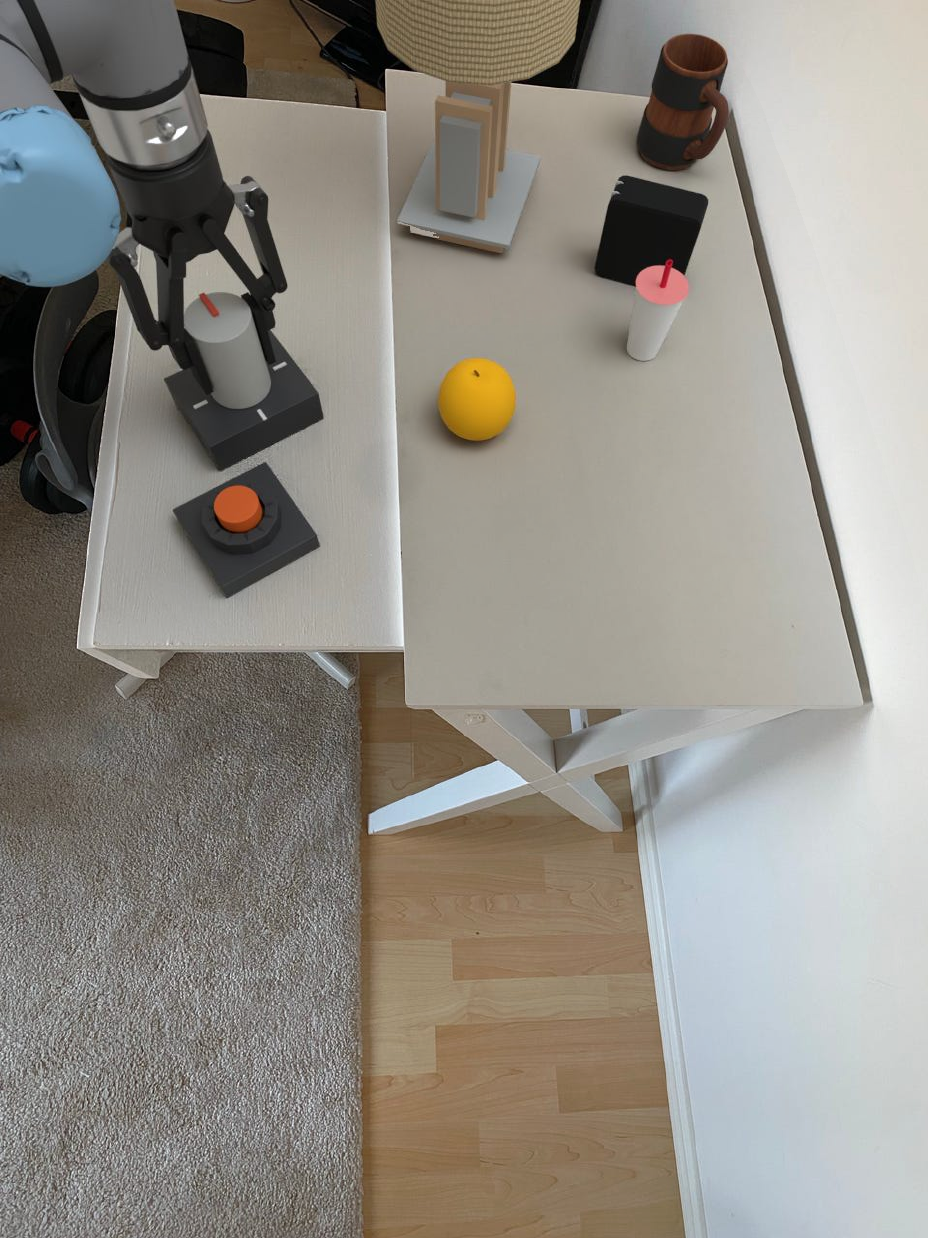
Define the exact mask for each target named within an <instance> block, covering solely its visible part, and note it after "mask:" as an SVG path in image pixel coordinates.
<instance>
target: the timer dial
mask: <svg viewBox="0 0 928 1238" xmlns="http://www.w3.org/2000/svg"><path fill="white" fill-rule="evenodd" d="M184 328H185V330H186V331H187V333H188V334H189V335H190V337H191V338H192V340H193V341H194V343H195V345H196V348H197V350H198V353H199V355H200V358H201V361H202V363H203V366H204V368H205V371H206V373H207V376H208V378H209V381H210V384H211V386H212V389H213V391H214V392H212V393H211V395H212V396H213V398H214V399H215V401H217V402H218V403H219V404H221V405H222V406H224V407H227V408H231V409H244V408H249V407H252V406H254V405H256V404H258V403H259V402H261V401H262V400H263V399H264V398H265V397H266V396H267V394H268V393H269V390H270V387H271V379H270V375H269V372H268V368H267V365H266V361H265V358H264V354H263V351H262V347H261V344H260V340H259V337H258V333H257V330H256V326H255V323H254V320H253V316H252V313H251V309H250V307H249V305H248V304H247V303H246V301H245V300H243V299H242V298H241V296H239V295H237V294H235V293H230V292H224V291H217V292H216V291H215V292H210V293H205V292H202V293H199V294H198V297H197V298H196V299H194V300H193V301H192V302H191V303H190V304H189V305H188V306H187V307H186V309H185V310H184Z"/></svg>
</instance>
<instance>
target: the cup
mask: <svg viewBox="0 0 928 1238" xmlns="http://www.w3.org/2000/svg"><path fill="white" fill-rule="evenodd" d="M672 263H673V261H672V260H671V259H669V260H668V261H667V262H666V265H665V266H651V267H648V268H646V269H644V270H642V271H641V272H640V273H639V274H638V276H637V278H636V286H635V292H634V298H633V302H632V303H633V304H632V309H631V317H630V323H629V328H628V336H627V342H626V343H627V344H626V351H627V353H628V355H629V356H630V357H631V358H633V360H634V359H635V360H637V361H640V362H646V361H647V362H648V361H651V360H653V359H654V358H655V357H656V356H657V354H658V352H659V350H660V349H661V347H662V345H663V343H664V341H665V339H666V337H667V335H668V333H669V331H670V329H671V327H672V325H673V323H674V321H675V318H676V316H677V314H678V313H679V311H680V309H681V306H682V304H683V302H684V300H685V299H686V297H687V296H688V295H689V293H690V284H689V283H690V282H689V280H688V278H687V277H686V276H685V275H683V274H682V273H680V272H679V271H678V270H676V269H674V268H671V267H672Z"/></svg>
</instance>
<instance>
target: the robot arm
mask: <svg viewBox="0 0 928 1238" xmlns="http://www.w3.org/2000/svg"><path fill="white" fill-rule="evenodd" d="M69 76H71V77H72V80H73V83H74V85H75V88H76V89H77V91H78V94H79V96H80V99H81V101H82V104H83V106H84V109H85V112H86V114H87V116H88V119H89V121H90V123H91V127H92V129H93V132H94V134H95V136H96V139H97V141H98V144H99V146H100V147H101V149H102V150H103V151H104V157H105V161H106V163H107V165H108V168H109V170H110V172H111V175H112V177H113V180H114V183H115V185H116V187H117V190H118V192H119V195H120V196H121V199H122V202H123V204H124V207H125V212H126V213H125V220H124V222H125V228H124V229H122V230H121V231H120V224H121V221H122V216H121V206H120V201H119V197H118V194H117V190H116V188H115V186H114V184H113V182H112V180H111V178H110V176H109V173H108V172H107V169H106V168H105V167H104V164H103V162H102V160H101V159H100V157H99V154H98V153H97V150H96V148H95V146H94V145H93V143H92V139H91V136H89V134H88V133H87V132H86V131H85V130H84V129H83V128H82V126H81V125H80V124H79V123H78V121H76V120H75V119H74V118H73V116H72V115H71V114H70V112H69V111H68V109H67V108H66V106H65V105H64V104H63V102H62V101H61V100H60V98H59V97H58V95H57V94H56V93H55V91H54V90H53V89H52V87H51V86H50V85H51V84H53V83H56V82H60V81H62V80H63V79H64V78H65V77H69ZM198 87H199V86H198V83H197V79H196V77H195V72H194V69H193V66H192V63H191V59H190V55H189V53H188V50H187V46H186V42H185V38H184V35H183V31H182V25H181V23H180V18H179V15H178V11H177V7H176V3H175V0H0V275H1V276H4V277H6V278H8V279H10V280H12V281H16V282H19V283H22V284H25V286H31V287H38V288H39V287H41V288H54V287H61V286H66V285H69V284H72V283H75V282H77V281H79V280H82V279H83V278H85V277H87V276H89V275H91V274H92V273H94V271H96V270H97V269H98V268H100V267H101V266H102V264H103V263H105V261H107V262H108V264H109V265H110V267H111V268H112V269H113V270H114V272H115V274H116V276H117V280H118V282H119V284H120V287H121V290H122V293H123V295H124V298H125V301H126V303H127V306H128V308H129V309H128V310H129V312H130V314H131V316H132V319H133V322H134V324H135V327H136V330H137V331H138V333H139V334H140V336H141V337H142V339H143V340H144V342H145V343H146V345H147V346H148V347H149V349H150V350H151V351H153V352H155V351H156V352H157V351H159V350H161V349H162V347H163V346H167V347H168V349H169V351H170V353H171V355H172V358H173V359H174V361H175V363H176V364H177V366H178V367H179V368H180V369H181V370H186V369H188V368H190V369H191V371H192V374H193V376H194V378H195V379H196V381H197V382H198V383H199V385H200V386H201V388H202V389H203V391H204V392H205V394H206V395H208V394H210V393H212V392H214V391H213V389H212V386H211V384H210V381H209V378H208V376H207V373H206V371H205V368H204V366H203V363H202V361H201V358H200V355H199V353H198V350H197V348H196V345H195V343H194V341H193V340H192V338H191V337H190V335H189V334H188V333H187V331H186V329H185V327H184V314H185V292H184V291H185V289H184V287H185V284H184V279H186V278H187V263H189V262H192V260H194V259H196V258H197V257H198V256H200V255H205V254H210V253H212V252H214V251H218V253H219V254H220V256H222V258H223V259H224V260H225V261H226V263H227V265H229V267H230V268H231V270H232V271H233V272H234V274H235V275H236V276H237V277H238V279H239V281H241V282H242V284H243V285H244V287H245V288H246V289H247V290H248V291H247V292H245V293H243V294H240V297H241V298H242V299H243V300H245V301H246V303H247V304H248V305H249V307H250V309H251V313H252V316H253V320H254V323H255V326H256V330H257V333H258V337H259V340H260V344H261V347H262V351H263V354H264V358H265V360H266V361H267V363H268V364H269V365H271V364H273V363H275V362H276V359H275V356H274V352H273V348H272V344H271V341H270V337H269V333H268V330H271V331H272V329H274V328H276V318H275V315H274V310H275V308H276V302H275V301H274V299H273V297H274V295H275V294H277V293H278V294H283V293H285V292H286V291H287V290H288V281H287V279H286V275H285V272H284V268H283V265H282V262H281V258H280V256H279V252H278V250H277V247H276V243H275V240H274V237H273V233H272V230H271V227H270V223H269V219H268V213H269V196H268V194H267V193H266V192H265V191H264V190H263V189H262V187H261V186H260V185H259V184H258V183H257V181H256V180H255V179H254V178H253V177H252V176H250V175H246V176H244V177H243V178H241V180H240V183H239V184H238V183H237V184H229V185H228V183H227V182H226V181H225V180H224V176H223V172H222V168H221V165H220V162H219V158H218V154H217V151H216V147H215V143H214V139H213V137H212V134H211V132H210V130H209V129H208V127H209V124H208V123H209V122H208V119H207V115H206V111H205V109H204V106H203V101H202V98H201V94H200V90H199V88H198ZM234 207H236V208H237V209H238V210H239V212H240V213H241V214H242V217H243V221H244V223H245V226H246V228H247V229H246V230H247V231H248V235H249V238H250V241H251V244H252V247H253V250H254V253H255V254H256V258H257V262H258V265H259V267H260V270H261V273H262V275H260V276H259V277H256V275H255V274H254V272H253V271H252V270H251V268H250V267H249V265H248V264H247V263H246V261H245V260H244V258H243V257H242V256H241V255H240V254H239V252H238V250H237V249H236V247H235V246H234V245H233V243H232V242H231V240H230V239H229V238H228V236H227V235H226V234H225V233H226V231H227V227H228V224H229V221H230V218H231V215H232V213H233V211H234ZM139 245H141V246H143V247H144V248H146V249H148V250H149V251H152V252H153V258H154V260H155V265H156V266H155V270H156V293H157V294H156V295H157V298H156V299H157V315H158V316H157V319H155V315H154V313H153V310H152V306H151V304H150V301H149V298H148V295H147V292H146V290H145V287H144V283H143V281H142V279H141V276H140V274H139V273H138V271H137V269H136V267H137V266H138V264H139V263H138V258H139V257H138V254H137V247H138V246H139Z"/></svg>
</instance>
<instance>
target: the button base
mask: <svg viewBox="0 0 928 1238" xmlns="http://www.w3.org/2000/svg"><path fill="white" fill-rule="evenodd" d="M231 486H245V487H248V488H250V489H252V490H253V491H254V492H255V493H256V495H257V497H258V499H259V502H260V504H261V507H262V518H261V520H260V522H259V523H258V524H257V525H256V526H255V527H254V528H253V529H251V530H249V531H246V532H241V533H236V532H231V531H229V530H227V529H225V528H224V527H223V526H222V525H221V523H220V521H219V519H218V517H217V515H216V513H215V510H214V502H215V499H216V497H217V496H218V494H219V493H220V492H222V491H223V490H224V489H226V488H228V487H231ZM172 513H173V514H174V516H175V517H176V519H177V521H178V522H179V524H180V525H181V527H182V529H183V530H184V533H185V534H186V535H187V537H188V538H189V540H190V542H191V543H192V545H193V546H194V548H195V550H196V551H197V553H198V555H199V556H200V558H201V559H202V561H203V563H204V564H205V566H206V567H207V569H208V570H209V572H210V575H212V577H213V579H214V581H215V582H216V583H217V585H218V587H219V588H220V590H221V591H222V593H223V595H224V596H225V598H226V599H229V598H230V597H231V596H234V595H235V594H237V593H239V592H240V591H243V590H244V589H246V588H248V587H250V586H252V585H253V584H255V583H257V582H259V581H261V580H262V579H264V578H266V577H268V576H269V575H272V574H274V573H275V572H277V571H278V570H281V569H282V568H284V567H286V566H288V565H289V564H291V563H293V562H295V561H296V560H298V559H300V558H301V557H304V556H306V555H307V554H309V553H311V552H313V551H314V550H317V549H318V548H320V547H321V545H320V544H321V543H320V541H319V538H318V537H319V536H318V534H317V533H316V531H315V530H314V528H313V527H312V526H311V524H310V523H309V521H308V520H307V518H306V517H305V516H304V514H303V513H302V511H301V509H300V508H299V507H298V506H297V504H296V502H295V501H294V500H293V498H292V497H291V495H290V494H289V493H288V491H287V490H286V488H285V487H284V485H283V484H282V482H281V481H280V479H278V477H277V475H276V474H275V473H274V471H273V470H272V468H271V467H270V465H269V464H268V463H267V461H263V462H262V463H260V464H258V465H256V466H254V467H252V468H250V469H249V470H246V471H245V472H243V473H241V474H239V475H237V476H235V477H233V478H231V479H229V480H227V481H225V482H223V483H221V484H219V485H217V486H215V487H213V488H212V489H210V490H207V491H206V492H204V493H201V494H200V495H198V496H196V497H194V498H192V499H190V500H188V501H186V502H184V503H182V504H181V505H178V506H176V507H175V508H173V509H172Z"/></svg>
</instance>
